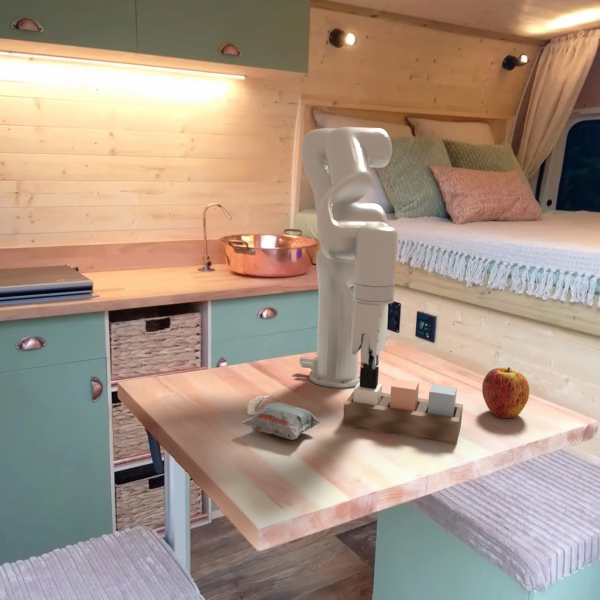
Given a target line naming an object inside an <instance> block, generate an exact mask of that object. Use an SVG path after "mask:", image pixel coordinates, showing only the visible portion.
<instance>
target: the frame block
mask: <svg viewBox="0 0 600 600" xmlns="http://www.w3.org/2000/svg"><path fill="white" fill-rule="evenodd" d="M390 395H391V393H387V392H382V397H381V402H380V404H379V405H378V406H377V405H371V404H364V403H358V402H353V398H354V390H353V392H351V394H350V395H349V397H348V398H347V400H346V401H345V402H344V403H343V416H342V418H343V420H342V421H343V422H342V427H345V428H352V429H356V430H364V431H368V432H376V433H382V434H383V433H384V434H388V435H393V436H394V435H395V436H400V437H405V438H413V439H417V440H424V441H431V442H436V443H442V444H443V443H444V444H450V445H456V446H457V445H458V440H459V435H460V432H461V427H462V419H463V418H462V417H463V408H464V406H463V405H464V403H457V402H456V403H455V413H454V417H449V416H443V415H436V414H430V413H428V401H429V398H421V397H418V403H417V409H416V411H410V410H404V409H397V408H391V407H390Z"/></svg>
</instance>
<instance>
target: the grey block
mask: <svg viewBox="0 0 600 600" xmlns="http://www.w3.org/2000/svg"><path fill="white" fill-rule="evenodd" d="M430 386H431V387H430V388H429V392H428V399H429V401H428V413H430V414H436V415H443V416H449V417H454V413H455V403H457V402H456V401H457V393H458V391H457V389H458V387H457V386H450V385H443V384H436V383H432V384H431V385H430Z"/></svg>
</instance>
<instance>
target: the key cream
mask: <svg viewBox="0 0 600 600" xmlns="http://www.w3.org/2000/svg"><path fill="white" fill-rule="evenodd" d="M353 391H354V398H353V402H358V403H364V404H371V405H377V406H378V405H379V404H380V402H381V397H382V393H383V384H382V383H378V386H377V387H376V389H371V388H364V387H360V381H359V383H358V384H357V385H356V386H354V388H353Z"/></svg>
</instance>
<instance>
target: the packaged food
mask: <svg viewBox="0 0 600 600" xmlns="http://www.w3.org/2000/svg"><path fill="white" fill-rule="evenodd" d="M255 412H256V413H255V414H254V415H251V417H249V418H246V419H244V420H242V421H241V423H240V424H241V425H246V426H249V427H251V428H252V429H253V430H255V431H257V432H260V433H265V434H268V435H273V436H275V437H278V438H282V439H288V440H291V441H292V440H297V439H298V437H300V435H301V434H303V433H305V432H306V431H308V430H309V429H311V428H314V427H315V426H317V425H319V424H320V423H321V421H320V420H319V419H318V418H317V417H316V416H315V414H313V413H312V412H310V410H307V409H305V408H301V407H297V406H295V405H289V404H287V403H283V402H280V401H272V402H269V403H266V404H265V405H264V406H262V407H261V408H260V409H258V411H255Z"/></svg>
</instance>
